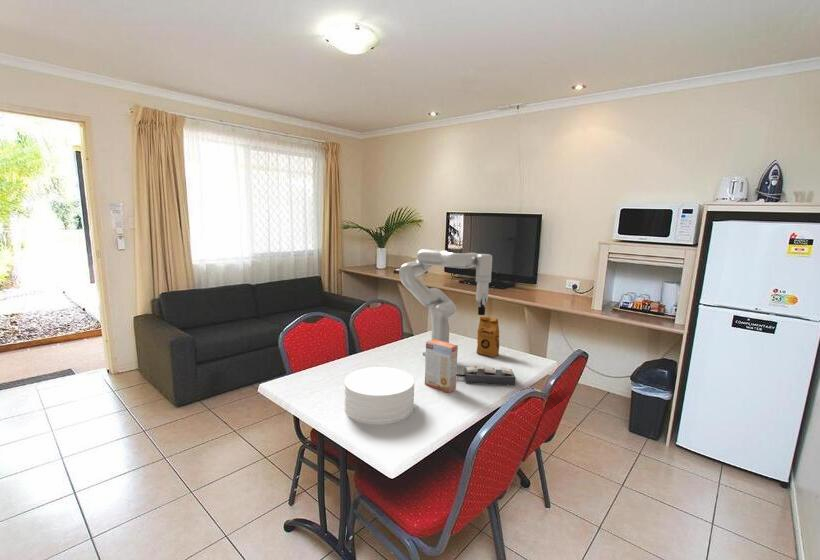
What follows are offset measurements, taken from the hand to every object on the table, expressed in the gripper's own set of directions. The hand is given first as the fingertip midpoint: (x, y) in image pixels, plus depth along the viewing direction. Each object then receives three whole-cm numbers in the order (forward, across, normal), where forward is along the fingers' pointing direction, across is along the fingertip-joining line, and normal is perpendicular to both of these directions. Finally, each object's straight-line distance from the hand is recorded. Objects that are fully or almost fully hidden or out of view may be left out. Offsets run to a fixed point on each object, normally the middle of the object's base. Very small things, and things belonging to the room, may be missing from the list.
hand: (481, 314), depth 195 cm
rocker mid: (+25, +14, +4) cm, 29 cm away
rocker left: (+25, +14, -4) cm, 29 cm away
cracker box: (+29, +24, -20) cm, 43 cm away
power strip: (+29, +14, +1) cm, 32 cm away
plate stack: (+30, +46, -45) cm, 71 cm away
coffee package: (+29, -24, +8) cm, 39 cm away
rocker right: (+25, +14, +12) cm, 31 cm away
